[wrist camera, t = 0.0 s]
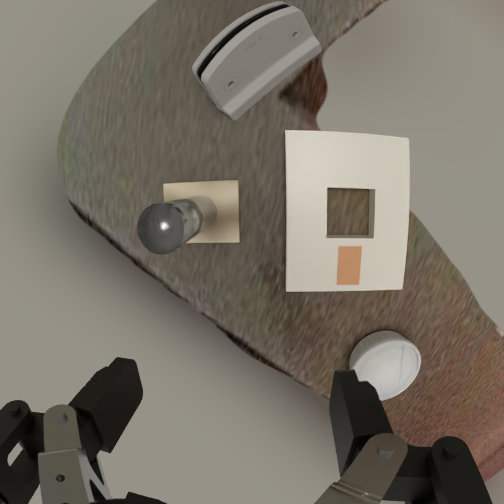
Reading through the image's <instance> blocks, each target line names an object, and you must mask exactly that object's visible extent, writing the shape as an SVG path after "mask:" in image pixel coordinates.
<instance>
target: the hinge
mask: <svg viewBox="0 0 504 504" xmlns="http://www.w3.org/2000/svg"><path fill="white" fill-rule="evenodd" d="M321 51H322V49H321V44H320V43H319V41H318V40H317V39H316V38H315V36H314V35H313V33H312V30H311V28H310V26H309V24H308V22H307V20H306V17H305V15H304V13H303V12H302V11H301V10H299V9H298V8H297V7H295V6H291V5H290V4H289V3H286V2H281V1H276V2H273V3H269V4H266V5H264V6H261V7H259V8H256V9H254V10H252V11H250V12H248V13H246V14H245V15H243V16H241V17H240V18H238V19H237V20H235V21H234V22H232V23H231V24H230V25H229V26H227V27H226V28H225V29H224V30H222V31H221V32H220V33H219V34H218V35H217V36H216V37H215V38H214V39H213V40H212V41H211V42H210V43H209V44H208V45H207V47H206V48H205V49H204V50H203V51H202V53H201V54H200V55H199V57H198V58H197V60H196V61H195V63H194V64H193V66H192V71H193V73H194V75H195V76H196V78H197V80H198V81H199V83H200V84H201V86H202V88H203V89H204V91H205V92H206V94H207V96H208V97H209V99H210V101H211V102H212V104H213V103H215V105H216V106H217V108H218V109H219V110H220V111H222V112H224V113H225V114H227V115H228V116H229V117H230V118H231V119H232V120H233V121H236V120H237V119H238V118H239V117H240V116H241V115H243V114H244V113H245V112H246V111H247V110H248V109H249V108H251V107H252V106H253V105H254V104H255V103H256V102H258V101H259V100H260V99H261V98H262V97H264V96H265V95H266V94H267V93H268V92H270V91H271V90H272V89H273V88H274V87H276V86H277V85H278V84H279V83H281V82H282V81H283V80H284V79H286V78H287V77H288V76H289V75H291V74H292V73H293V72H295V71H296V70H297V69H299V68H300V67H301V66H302V65H304V64H305V63H306V62H308V61H309V60H310V59H312V58H313V57H315V56H316V55H317V54H319V53H320V52H321Z"/></svg>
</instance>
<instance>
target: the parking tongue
mask: <svg viewBox="0 0 504 504" xmlns="http://www.w3.org/2000/svg"><path fill="white" fill-rule="evenodd" d="M163 188H164V202H167V201H172V200H178V199H183V198H188V197H194V196H206V197H208V198H210V199H211V200H212V201H213V202H214V204H215V206H216V209H217V217H216V220H215V222H214V223H213V224H212V225H211V226H210V227H208V228H207V229H205V230H204V231H202V232H201V233H199V234H198V235H196V236H195V237H193V238H192V239H190V240H189V241H187V242H186V243H240V213H239V180H229V181H204V182H185V183H170V184H163Z"/></svg>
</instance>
